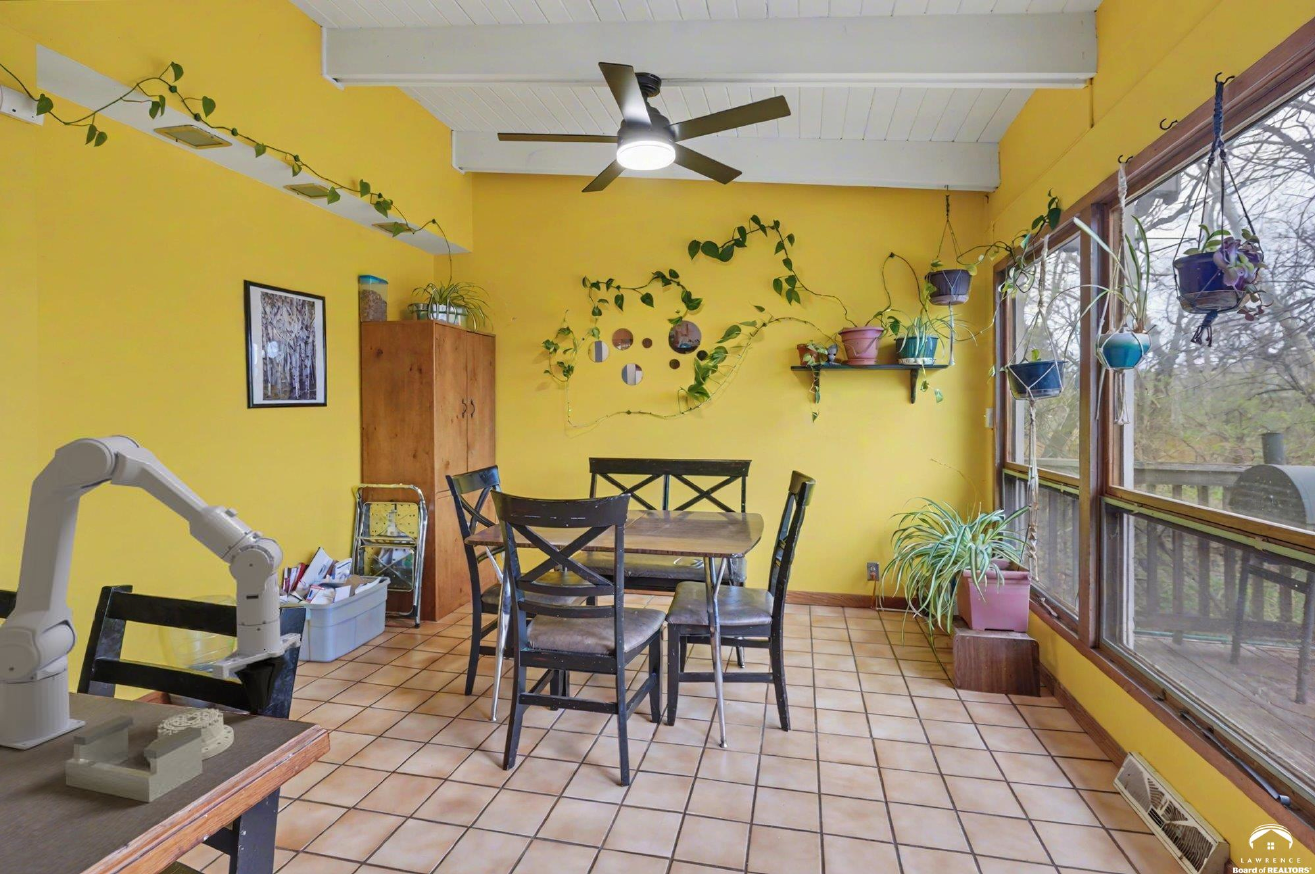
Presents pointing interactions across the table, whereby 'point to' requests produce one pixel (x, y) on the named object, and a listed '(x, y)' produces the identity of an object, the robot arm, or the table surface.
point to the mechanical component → (211, 727)
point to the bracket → (109, 747)
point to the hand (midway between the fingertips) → (260, 707)
